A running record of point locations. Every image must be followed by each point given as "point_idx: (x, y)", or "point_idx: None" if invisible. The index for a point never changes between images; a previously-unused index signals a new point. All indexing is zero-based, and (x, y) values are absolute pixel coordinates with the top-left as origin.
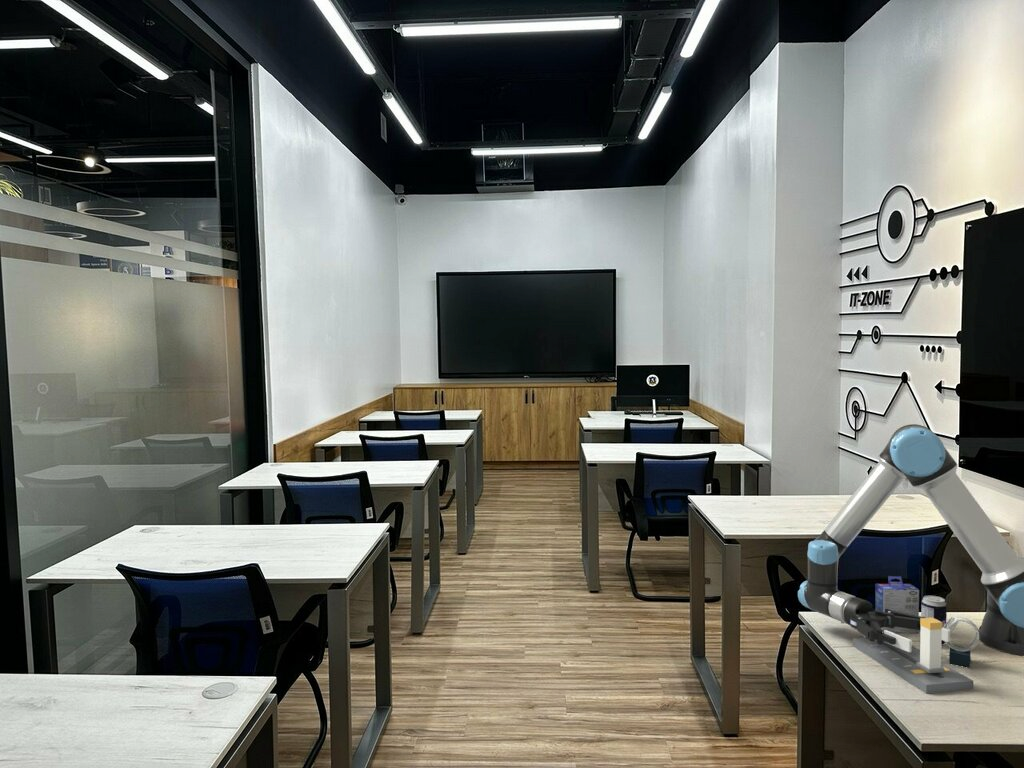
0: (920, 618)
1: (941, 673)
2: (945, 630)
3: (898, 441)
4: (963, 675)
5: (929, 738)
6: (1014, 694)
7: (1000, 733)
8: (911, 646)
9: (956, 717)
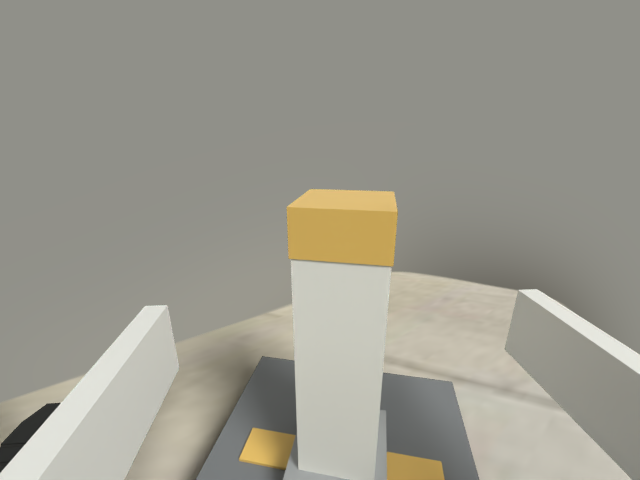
0: (397, 214)
1: None
2: (160, 318)
3: None
4: (248, 387)
5: None
6: (197, 337)
7: (394, 281)
8: (511, 322)
9: (440, 318)
